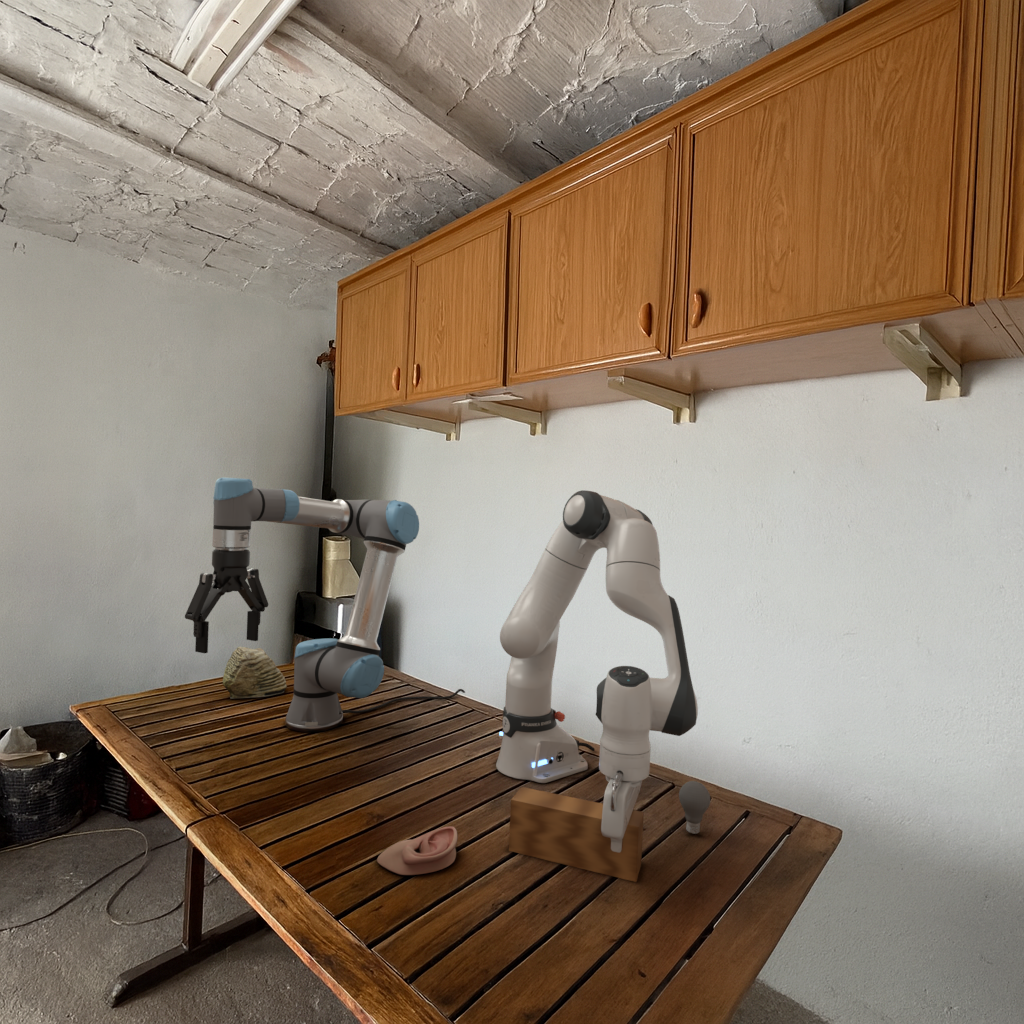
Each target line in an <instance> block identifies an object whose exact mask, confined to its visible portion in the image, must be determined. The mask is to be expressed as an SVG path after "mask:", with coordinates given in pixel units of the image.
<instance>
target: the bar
mask: <svg viewBox="0 0 1024 1024" xmlns="http://www.w3.org/2000/svg"><path fill="white" fill-rule="evenodd" d="M602 811H603V802H602V803H601V802H596V801H592V800H587V799H582V798H577V797H573V796H568V795H564V794H559V793H553V792H549V791H543V790H539V789H533V788H529V787H524V786H521V787H520V788H519V789H518V790H517V791H516V792H515V794H514V795H513V796H512V797H511V799H510V813H509V816H510V817H509V835H508V836H509V837H508V852H512V853H515V854H516V853H517V854H519V855H524V856H528V857H533V858H537V859H541V860H544V861H549V862H552V863H557V864H561V865H565V866H568V867H572V868H577V869H582V870H585V871H589V872H594V873H598V874H602V875H606V876H609V877H614V878H619V879H623V880H626V881H631V882H634V883H637V881H638V877H639V873H640V870H641V868H642V854H643V839H644V838H643V837H644V834H643V833H644V813H645V812H644V811H640V810H636V809H633V811H632V814H631V817H630V820H629V823H628V825H627V828H626V831H625V834H624V837H623V847H622V850H621V852H620V853H618V852H614V851H612V850H611V838H608V837H604V836H603V835H602V832H601V824H602Z"/></svg>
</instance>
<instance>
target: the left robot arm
mask: <svg viewBox="0 0 1024 1024" xmlns="http://www.w3.org/2000/svg"><path fill="white" fill-rule="evenodd" d="M253 485H254V484H253V481H252V480H251V479H250V478H240V477H237V478H236V477H219V478H217V479H216V481H215V483H214V493H213V497H212V499H213V526H212V527H213V528H212V544H211V545H212V547H213V548H214V549H213V550H212V551H211V566H212V567H213V572H212V573H209V572H208V573H207V572H201V573H200V574H199V581H198V585H197V587H196V590H195V592H194V594H193V596H192V599H191V601H190V602H189V604H188V605H189V606H188V608H187V610H186V612H185V614H184V618H185V619H186V620H189V621H192V622H193V637H194V638H195V648H194V651H195V653H200V654H208V653H209V630H210V629H209V625H210V624H209V623H210V621H208V620H207V618H208V617H209V616H210V614H211V612H212V611H213V609H214V608H215V606H216V605H217V603H218V602H219V600H220V599H221V597H222V596H224V595H225V594H226V593H233V592H238V593H239V595H240V596H241V598H242V599H243V601H244V603H246V605H247V607H248V608H249V609H250V610H247V616H246V641H251V642H258V641H259V626H260V625H261V616H262V615H261V613H262V612H265V611H266V608H268V607H269V602H268V598H267V596H266V593H265V591H264V587H263V585H262V583H261V582H262V581H261V580H260V570H259V569H258V568H252V567H250V565H251V564H250V563H251V551H250V550H249V549H248V548H250V547H251V532H252V531H251V529H252V522H268V523H277V524H285V525H286V524H287V525H294V526H295V525H296V526H303V527H313V528H321V529H328V530H329V531H330V532H332V533H335V534H342V535H347V536H351V537H355V538H359V539H362V540H363V545H364V546H365V548H366V553H365V556H364V559H363V564H362V569H361V572H360V576H359V580H358V584H357V588H356V591H355V595H354V599H353V603H352V606H351V611H350V614H349V619H348V622H347V625H346V629H345V633H344V635H342V636H341V637H340V638H339V639H338V638H335V637H334V638H331V637H329V638H315V639H308V640H304V641H301V642H299V643H298V644H297V645H296V646H295V652H294V656H293V659H294V661H293V662H294V668H293V669H294V670H293V695H292V696H293V697H292V699H291V702H290V704H289V708H288V711H287V713H286V715H285V726H286V728H287V729H289V730H291V731H294V732H295V731H296V732H301V733H316V732H325V731H329V730H332V729H335V728H337V727H339V726H340V725H342V723H343V722H344V714H362V713H363V714H364V713H367V712H372V711H374V710H377V709H380V708H383V707H385V706H387V705H389V704H392V703H394V702H399V701H406V700H447V699H452V698H454V697H455V696H456V695H458V693H459V692H462V694H463V693H464V694H465V693H466V691H465V690H464V689H462V688H458V689H457V690H456V691H455V692H454V693H452V694H450V695H446V696H432V695H431V696H428V695H427V696H425V695H424V696H406V697H405V696H404V697H398V698H393V699H390V700H387V701H386V702H384V703H382V704H379V705H376V706H373V707H369V708H365V709H359V710H352V709H342V706H341V702H340V699H339V695H343V696H344V697H346V698H355V699H365V698H367V697H369V696H370V695H372V693H374V692H375V691H376V690H377V689H378V687H379V686H380V685H381V683H382V680H383V678H384V674H385V665H384V661H383V659H382V658H381V657H380V652H381V647H380V646H379V644H378V637H379V633H380V628H381V624H382V621H383V617H384V613H385V609H386V604H387V601H388V598H389V597H388V596H389V593H390V589H391V585H392V581H393V577H394V572H395V570H396V565H397V561H398V557H400V556H401V555H403V554H404V553H405V551H406V548H407V545H408V544H411V543H413V542H414V540H416V539H417V537H418V534H419V531H420V519H419V515H418V514H417V511H416V509H415V507H414V506H413V505H411V504H410V503H408V502H406V501H401V500H397V499H393V500H392V499H391V500H390V499H389V500H387V499H386V500H385V499H371V498H370V499H368V498H367V499H341V498H336V499H334V500H331V501H330V500H325V499H318V498H310V497H305V496H299V495H297V493H296V492H295V491H293V490H291V489H285V488H263V487H262V488H261V487H260V488H259V487H254V486H253ZM246 580H247V581H246ZM338 694H339V695H338Z"/></svg>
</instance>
